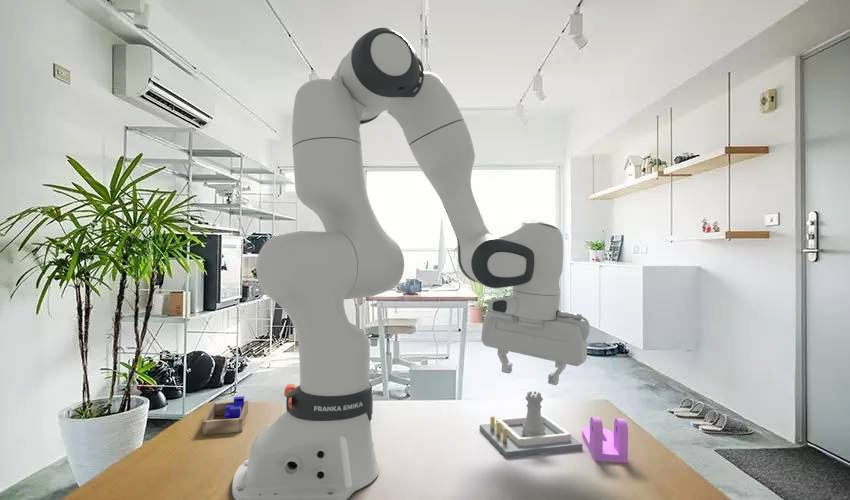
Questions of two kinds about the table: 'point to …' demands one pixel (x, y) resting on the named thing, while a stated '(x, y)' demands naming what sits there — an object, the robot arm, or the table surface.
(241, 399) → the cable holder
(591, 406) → the table surface
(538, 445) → the board
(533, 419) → the rook chess piece
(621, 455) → the bracket
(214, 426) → the box
